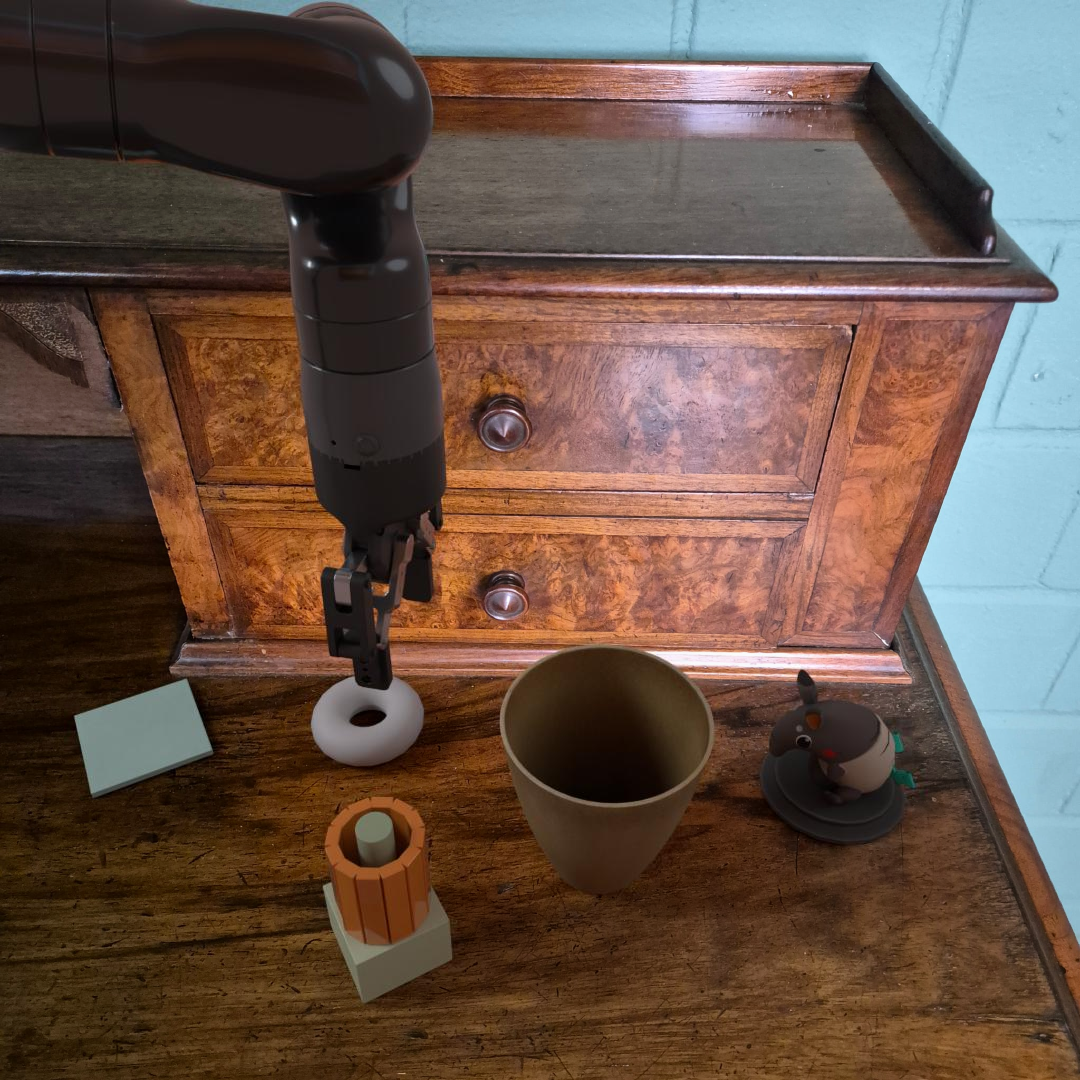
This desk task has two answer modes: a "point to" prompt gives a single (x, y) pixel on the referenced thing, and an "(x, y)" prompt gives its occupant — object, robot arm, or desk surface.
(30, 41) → the robot arm
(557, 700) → the plant pot
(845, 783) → the figurine
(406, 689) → the donut
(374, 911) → the pen holder
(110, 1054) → the desk surface
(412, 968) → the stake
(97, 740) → the mat
